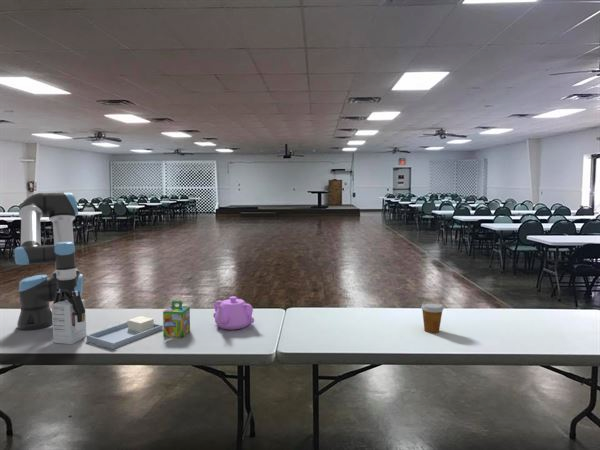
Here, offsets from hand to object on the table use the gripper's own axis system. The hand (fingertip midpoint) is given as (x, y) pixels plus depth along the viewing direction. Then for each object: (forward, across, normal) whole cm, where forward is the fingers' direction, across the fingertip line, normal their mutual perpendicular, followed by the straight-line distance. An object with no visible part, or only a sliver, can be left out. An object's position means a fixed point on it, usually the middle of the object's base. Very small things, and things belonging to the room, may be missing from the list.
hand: (69, 326), depth 183 cm
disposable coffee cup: (+6, +132, +88) cm, 159 cm away
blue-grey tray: (+6, +17, +15) cm, 23 cm away
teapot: (+6, +50, +47) cm, 69 cm away
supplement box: (+6, 0, 0) cm, 6 cm away
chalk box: (+6, +35, +28) cm, 45 cm away
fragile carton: (+5, +17, +23) cm, 29 cm away
